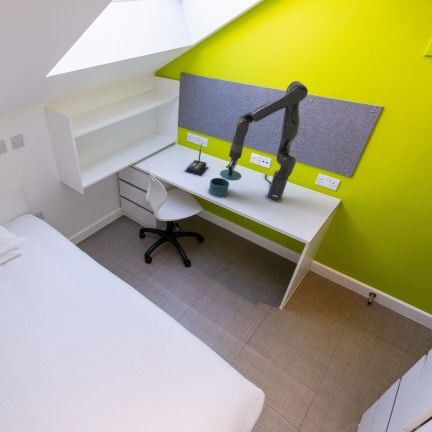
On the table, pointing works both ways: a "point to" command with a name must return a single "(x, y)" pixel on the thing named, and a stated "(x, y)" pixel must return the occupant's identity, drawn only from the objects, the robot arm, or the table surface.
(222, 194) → the tin
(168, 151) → the table surface
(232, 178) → the lid
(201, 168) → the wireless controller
